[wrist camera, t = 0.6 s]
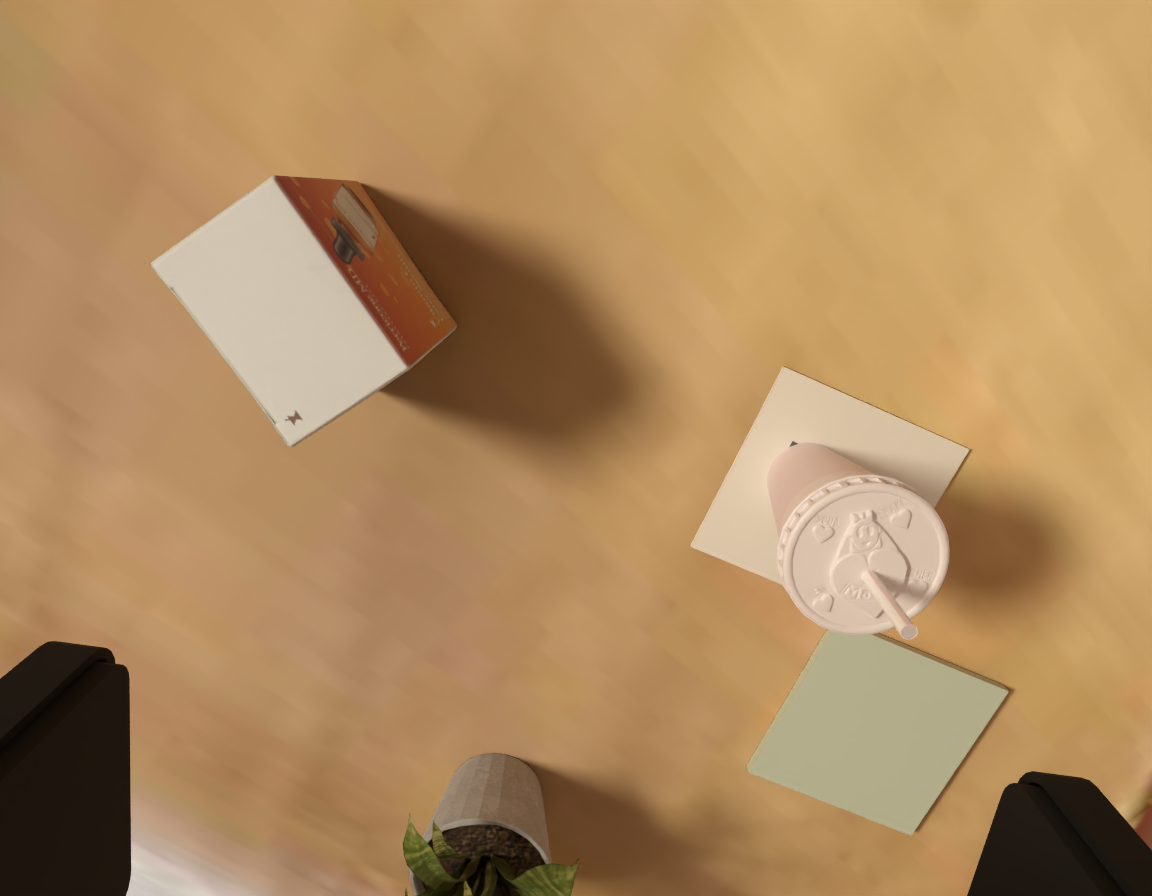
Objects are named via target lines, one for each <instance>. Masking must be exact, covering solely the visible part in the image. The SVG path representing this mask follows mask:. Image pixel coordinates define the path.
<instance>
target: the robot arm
mask: <svg viewBox="0 0 1152 896" xmlns="http://www.w3.org/2000/svg"><path fill="white" fill-rule="evenodd" d="M130 876H131V813H130V694H129V672H128V670H127V668H126V667H125V666H124V665H120V664H115V658H114V656H113V654H112V651H110V650H109V649H107V648H102V647H95V646H87V645H80V644H72V643H65V642H57V641H51V642H47V643H45V644H43V645H41V646H40V647H39V648H37V649H36V650H35V651H34V652H32V653H31V654H30V655H29V656H28V657H26V658H25V659H24V660H23V661H22V662H20V663H19V664H18V665H17V666H15V667H14V668H13V669H12V670H11V671H9V672H8V673H7V674H6V675H4V676H3V677H2V678H1V679H0V896H126V893H127V890H128V887H129V882H130ZM967 896H1152V850H1151V849H1150V848H1149V847H1148V846H1147V844H1146V843H1145V842H1144V841H1143V840H1142V839H1141V838H1140V836H1139V835H1138V834H1137V833H1136V832H1135V831H1134V829H1133V828H1132V827H1131V826H1130V825H1129V824H1128V822H1127V821H1126V820H1125V819H1124V818H1123V817H1122V815H1121V814H1120V813H1119V812H1118V811H1117V810H1116V808H1115V807H1114V806H1113V805H1112V804H1111V803H1110V802H1109V800H1108V799H1107V798H1106V797H1105V796H1104V795H1103V793H1102V792H1101V791H1100V790H1099V789H1098V788H1097V787H1096V786H1095V785H1094V784H1093V783H1092V782H1091V781H1089V780H1087V779H1083V778H1079V777H1072V776H1064V775H1057V774H1049V773H1042V772H1034V771H1032V772H1028V773H1025V774H1024V775H1023V776H1022V777H1021V778H1020V780H1019V782H1018V783H1013V784H1009V785H1008V786H1007V787H1006V788H1005V789H1004V791H1003V793H1002V796H1001V799H1000V802H999V805H998V807H997V810H996V813H995V816H994V819H993V822H992V825H991V828H990V831H989V834H988V837H987V839H986V842H985V845H984V848H983V851H982V854H981V857H980V860H979V863H978V866H977V869H976V872H975V874H974V877H973V880H972V883H971V886H970V889H969V892H968V895H967Z"/></svg>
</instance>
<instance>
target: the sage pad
mask: <svg viewBox="0 0 1152 896" xmlns="http://www.w3.org/2000/svg"><path fill="white" fill-rule="evenodd" d="M1008 692H1009V691H1008V690H1007V689H1006V688H1005V686H1004V685H1002V684H1000V683H997V682H995V681H992V680H990V679H988V678H985V677H983V676H980V675H978V674H975V673H973V672H971V671H968V670H966V669H963V668H961V667H959V666H956V665H954V664H951V663H949V662H947V661H944V660H942V659H939V658H937V657H934V656H932V655H930V654H927V653H925V652H922V651H920V650H918V649H915V648H913V647H910V646H908V645H906V644H903V643H901V642H898V641H896V640H893V639H891V638H889V637H886V636H884V635H881V634H879V633H875V634H868V635H850V634H843V633H838V632H834V631H831V630H828V629H827V630H826V632H825V634H824V635H823V637H822V639H821V641H820V642H819V644H818V646H817V647H816V649H815V651H814V652H813V654H812V656H811V658H810V659H809V661H808V663H807V664H806V666H805V668H804V669H803V671H802V673H801V674H800V676H799V678H798V680H797V681H796V683H795V685H794V686H793V688H792V690H791V691H790V693H789V695H788V697H787V698H786V700H785V702H784V703H783V705H782V707H781V708H780V710H779V712H778V714H777V715H776V717H775V719H774V720H773V722H772V724H771V725H770V727H769V729H768V731H767V732H766V734H765V736H764V737H763V739H762V741H761V742H760V744H759V746H758V748H757V749H756V751H755V753H754V754H753V756H752V758H751V759H750V761H749V763H748V765H747V767H748V771H749V773H751V774H754V775H756V776H759V777H762V778H764V779H767V780H769V781H772V782H774V783H777V784H780V785H782V786H785V787H787V788H790V789H792V790H795V791H798V792H800V793H803V794H805V795H808V796H810V797H813V798H816V799H818V800H821V801H823V802H826V803H828V804H831V805H834V806H836V807H839V808H841V809H844V810H846V811H849V812H852V813H854V814H857V815H859V816H862V817H864V818H867V819H869V820H872V821H875V822H877V823H880V824H882V825H885V826H887V827H890V828H893V829H895V830H898V831H900V832H903V833H905V834H908V835H912V834H913V832H914V831H915V829H916V828H917V827H918V825H919V824H920V822H921V821H922V819H923V818H924V816H925V815H926V813H927V812H928V810H929V809H930V807H931V806H932V804H933V803H934V801H935V800H936V798H937V797H938V796H939V794H940V793H941V791H942V790H943V788H944V787H945V785H946V784H947V782H948V781H949V779H950V778H951V776H952V775H953V773H954V772H955V770H956V769H957V767H958V766H959V764H960V763H961V762H962V760H963V759H964V757H965V756H966V754H967V753H968V751H969V750H970V748H971V747H972V745H973V744H974V742H975V741H976V739H977V738H978V736H979V735H980V733H981V732H982V731H983V729H984V728H985V726H986V725H987V723H988V722H989V720H990V719H991V717H992V716H993V714H994V713H995V711H996V710H997V708H998V707H999V705H1000V704H1001V702H1002V701H1003V699H1004V698H1005V697H1006V695H1007V694H1008Z"/></svg>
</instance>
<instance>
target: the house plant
mask: <svg viewBox="0 0 1152 896" xmlns="http://www.w3.org/2000/svg"><path fill="white" fill-rule="evenodd" d="M403 850H404V857H405V860H406V863H407V865H408V867H409V868H410V882H411V886H412V890H413V893H414V895H415V896H570V895H571V892H572V888H573V884H574V879H575V875H576V871H577V868H578V866H579V864H580V863H578V864H577V862H578V860H579V859H578V860H577V861H576V862H575V863H574V864H573V865H570V866H567V865H560V864H553V863H552V859H551V852H550V845H549V838H548V832H547V825H546V818H545V811H544V804H543V797H542V791H541V786H540V782H539V780H538V778H537V776H536V774H535V773H534V772H533V770H532V769H531V768H530V767H529V766H528V765H527V764H525V763H523V762H522V761H520V760H519V759H517V758H514V757H511V756H508V755H505V754H496V753H491V754H483V755H479V756H476V757H474V758H471V759H469V760H468V761H466V762H465V763H463V764H462V765H461V766H460V767H459V768H458V769H457V771H456V772H455V773H454V775H453V777H452V779H451V781H450V783H449V785H448V787H447V789H446V791H445V793H444V795H443V797H442V799H441V801H440V803H439V805H438V807H437V809H436V811H435V813H434V815H433V817H432V819H431V821H430V823H429V825H428V827H427V829H426V831H425V833H424V835H423V837H421V836H420V835H419V834H418V833H417V831H416V829H415V828H414V826H413V824H412V823H411V817H410V815H409V822H408V827H407V830H406V834H405V838H404V841H403ZM405 896H410V895H409V894H408V892H407V889H406V891H405Z"/></svg>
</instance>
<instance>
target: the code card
mask: <svg viewBox="0 0 1152 896" xmlns="http://www.w3.org/2000/svg"><path fill="white" fill-rule="evenodd" d="M800 443H816V444H820V445H822V446H825V447H827V448H828V449H830V450H832V451H834V452H835V453H837V454H839V455H841V456H842V457H844V458H846V459H848V460H849V461H851V462H853V463H855V464H856V465H858V466H860V467H862V468H863V469H865V470H867V471H869V472H870V473H872V474H875V475H880V476H886V477H891V478H895V479H897V480H899V481H901V482H903V483H905V484H907V485H909V486H911V487H913V488H914V489H915V490H916V491H918V492H919V493H920V494H921V495H922V496H923V497H924V498H925V499H926V500H928V502H929V503H930V505H931V506H932V508H933V509H934V508H935V506H936V505H937V503H938V501H939V500H940V498H941V496H942V495H943V493H944V491H945V490H946V488H947V486H948V485H949V483H950V481H951V480H952V478H953V476H954V475H955V473H956V471H957V470H958V468H959V466H960V465H961V463H962V461H963V460H964V458H965V456H966V455H967V453H968V451H969V450H970V449H968V448H966V447H964V446H962V445H959V444H957V443H955V442H953V441H950V440H948V439H946V438H944V437H941V436H939V435H937V434H935V433H932V432H930V431H928V430H926V429H923V428H921V427H919V426H917V425H914V424H912V423H910V422H908V421H905V420H903V419H901V418H899V417H896V416H894V415H892V414H890V413H887V412H885V411H883V410H881V409H878V408H876V407H874V406H872V405H869V404H867V403H865V402H863V401H860V400H858V399H856V398H854V397H851V396H849V395H847V394H845V393H843V392H840V391H838V390H836V389H834V388H831V387H829V386H827V385H825V384H822V383H820V382H818V381H816V380H813V379H811V378H809V377H807V376H804V375H802V374H800V373H798V372H795V371H793V370H791V369H789V368H786V367H784V366H783V367H782V369H781V371H780V373H779V375H778V377H777V379H776V381H775V383H774V385H773V387H772V388H771V390H770V392H769V394H768V396H767V398H766V400H765V402H764V404H763V406H762V408H761V410H760V412H759V414H758V416H757V417H756V419H755V421H754V423H753V425H752V427H751V429H750V431H749V433H748V435H747V437H746V439H745V441H744V443H743V445H742V446H741V448H740V450H739V452H738V454H737V456H736V458H735V460H734V462H733V464H732V466H731V468H730V470H729V472H728V474H727V475H726V477H725V479H724V481H723V483H722V485H721V487H720V489H719V491H718V493H717V495H716V497H715V499H714V501H713V503H712V504H711V506H710V508H709V510H708V512H707V514H706V516H705V518H704V520H703V522H702V524H701V526H700V528H699V530H698V532H697V533H696V535H695V537H694V539H693V541H692V543H691V547H693V548H695V549H697V550H700V551H702V552H705V553H707V554H710V555H712V556H714V557H717V558H719V559H722V560H724V561H726V562H729V563H731V564H734V565H736V566H738V567H741V568H743V569H746V570H748V571H750V572H753V573H755V574H758V575H760V576H762V577H765V578H767V579H770V580H772V581H774V582H777V583H779V584H782V582H781V578H780V575H779V572H778V568H777V545H778V541H779V536H778V532H777V527H776V523H775V518H774V514H773V509H772V505H771V500H770V495H769V491H768V486H767V476H768V471H769V468H770V466H771V464H772V462H773V461H774V459H775V458H776V457H777V456H778V455H779V454H780V453H781V452H782V451H784V450H785V449H787V448H789V447H791V446H793V445H796V444H800Z"/></svg>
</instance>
